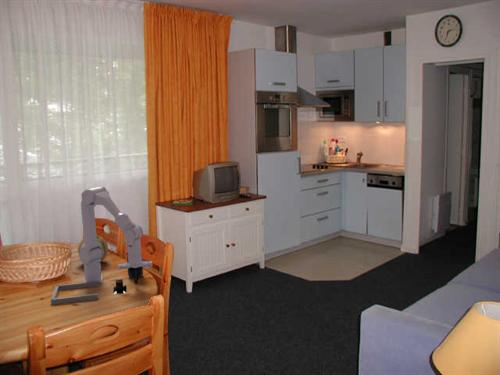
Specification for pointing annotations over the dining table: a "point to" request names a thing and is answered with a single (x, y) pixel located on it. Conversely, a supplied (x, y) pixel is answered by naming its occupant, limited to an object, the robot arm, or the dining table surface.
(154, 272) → the dining table surface
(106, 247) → the cantaloupe
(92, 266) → the robot arm
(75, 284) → the truck bay
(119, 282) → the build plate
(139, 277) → the soda can
